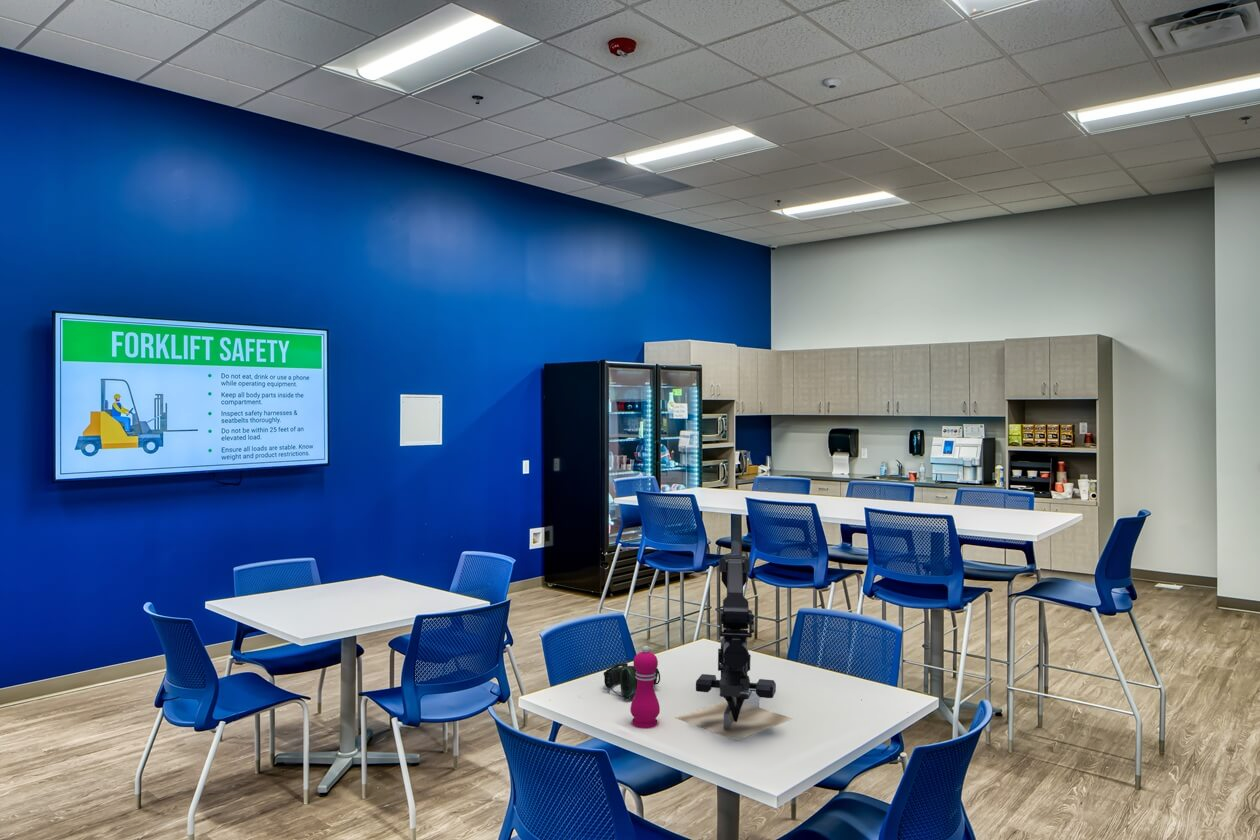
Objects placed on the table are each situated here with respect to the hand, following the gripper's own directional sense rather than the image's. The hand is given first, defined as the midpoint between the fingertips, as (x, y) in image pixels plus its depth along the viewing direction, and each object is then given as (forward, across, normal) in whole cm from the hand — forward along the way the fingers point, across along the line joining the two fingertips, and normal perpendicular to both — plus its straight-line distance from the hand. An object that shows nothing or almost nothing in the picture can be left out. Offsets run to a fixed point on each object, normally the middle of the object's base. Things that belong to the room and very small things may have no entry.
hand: (736, 721), depth 199 cm
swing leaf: (+1, -2, +3) cm, 4 cm away
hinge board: (+3, -2, +7) cm, 7 cm away
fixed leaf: (+2, 0, +12) cm, 12 cm away
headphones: (+3, -33, +21) cm, 39 cm away
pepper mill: (+2, -22, -4) cm, 22 cm away
